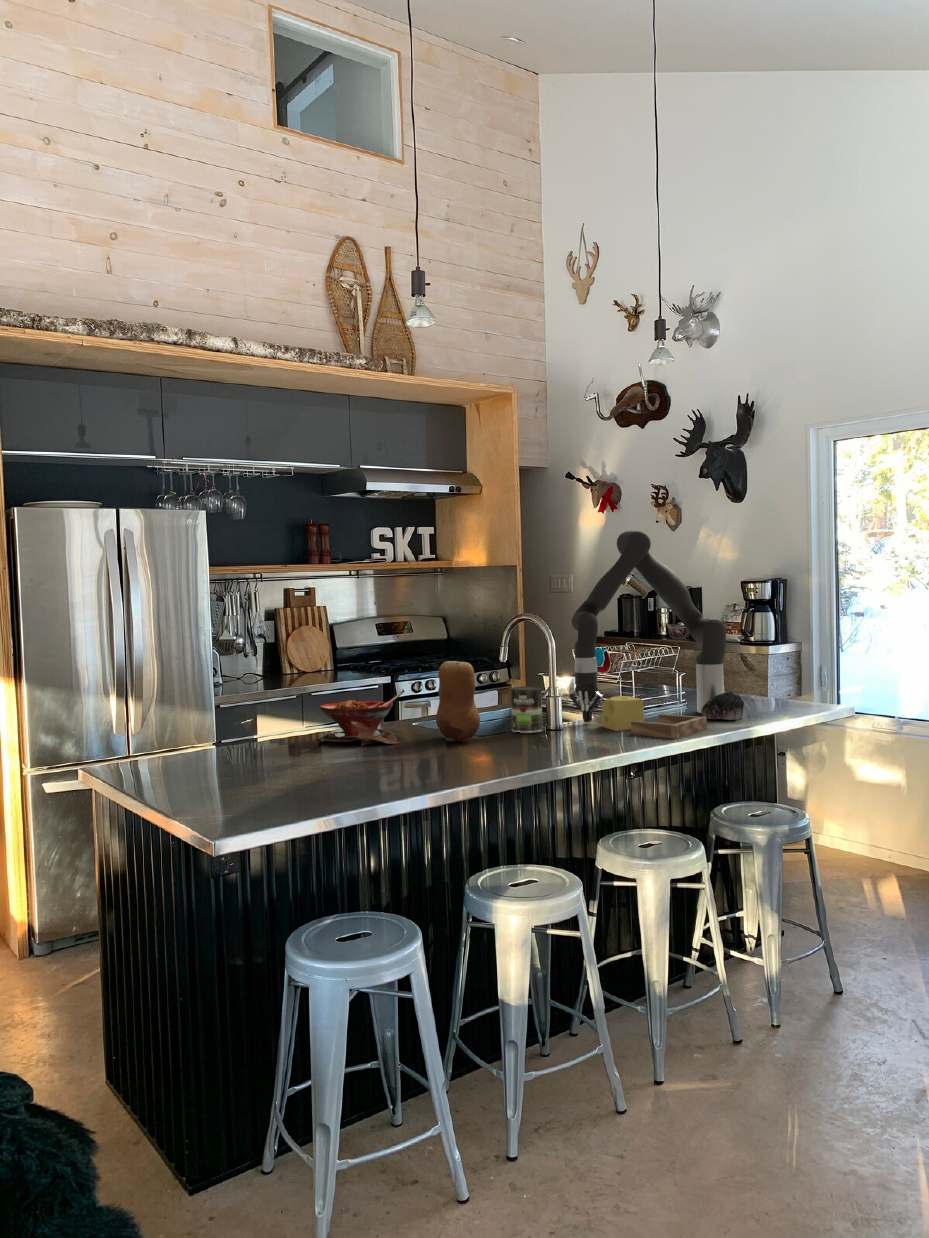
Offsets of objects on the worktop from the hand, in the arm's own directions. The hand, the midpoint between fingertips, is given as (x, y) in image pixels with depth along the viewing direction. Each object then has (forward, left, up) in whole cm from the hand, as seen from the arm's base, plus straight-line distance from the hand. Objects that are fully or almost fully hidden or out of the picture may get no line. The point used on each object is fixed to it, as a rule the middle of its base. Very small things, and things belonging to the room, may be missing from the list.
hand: (587, 721), depth 322 cm
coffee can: (+20, -10, -1) cm, 22 cm away
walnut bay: (0, +31, -1) cm, 31 cm away
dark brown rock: (-29, +35, -1) cm, 45 cm away
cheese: (0, +14, -1) cm, 14 cm away
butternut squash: (+45, -18, -1) cm, 49 cm away
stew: (+63, -43, -1) cm, 76 cm away
